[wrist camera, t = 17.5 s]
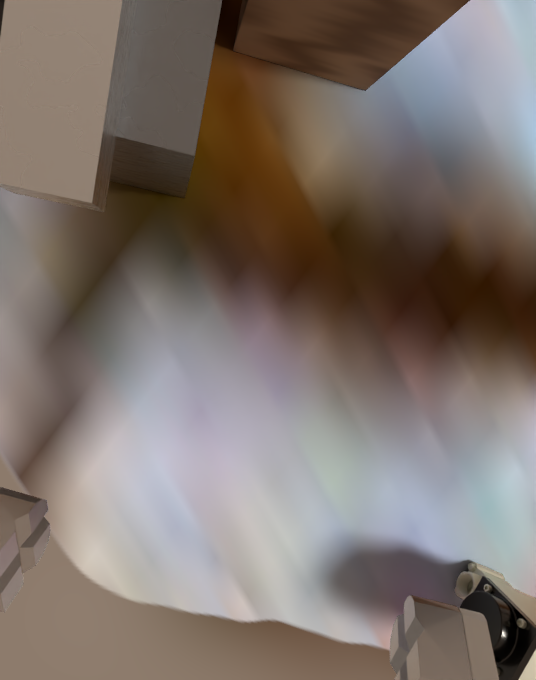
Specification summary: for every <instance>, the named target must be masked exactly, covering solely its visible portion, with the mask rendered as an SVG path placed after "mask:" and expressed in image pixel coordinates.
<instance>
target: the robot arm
mask: <svg viewBox="0 0 536 680" xmlns="http://www.w3.org/2000/svg"><path fill="white" fill-rule="evenodd" d="M47 511H48V505H47V500H45V499H41V498H37V497H34V496H30V495H27V494H23V493H20V492H16V491H12V490H9V489H5V488H3V487H0V612H5V611H6V610H7V608H8V606H9V605H10V603H11V602H12V600H13V599H14V598H15V596H16V595H17V593H18V592H19V590H20V589H21V587H22V586H23V573H24V572H26V571H27V570H29V569H31V568H32V567H34V566H36V564H37V563H38V561H39V560H40V558H41V557H42V555H43V553H44V551H45V548H46V546H47V544H48V541H49V536H50V523H49V522H48V521H47V520H46V519H45V517H44V516H45V514H46V513H47ZM390 664H391V665H392V667H393V669H394V671H395V672H396V674H397V675H396V677H395V679H394V680H499V677H498V672H497V667H496V663H495V658H494V653H493V648H492V644H491V639H490V634H489V630H488V625H487V620H486V618H485V617H484V615H483V614H481V613H479V612H475V611H470V610H466V609H462V608H458V607H456V606H454V605H450V604H446V603H441V602H437V601H433V600H429V599H425V598H421V597H417V596H413V595H410V596H408V597H407V599H406V600H405V602H404V614H402V615H399V616H397V618H396V621H395V623H394V625H393V629H392V634H391V639H390Z"/></svg>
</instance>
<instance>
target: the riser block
mask: <svg viewBox="0 0 536 680" xmlns="http://www.w3.org/2000/svg"><path fill="white" fill-rule="evenodd" d="M4 3H5V0H0V35H1V27H2V19H3V11H4ZM221 4H222V0H137V5H136V12H135V18H134V25H133V31H132V38H131V44H130V51H129V57H128V64H127V70H126V77H125V83H124V90H123V96H122V103H121V109H120V116H119V122H118V129H117V135H116V142H115V148H114V155H113V161H112V168H111V174H110V181H112V182H116V183H121V184H125V185H130V186H134V187H138V188H143V189H147V190H151V191H156V192H160V193H164V194H169V195H173V196H177V197H182V198H185V194H186V190H187V186H188V182H189V178H190V174H191V169H192V165H193V161H194V157H195V152H196V146H197V140H198V135H199V129H200V123H201V118H202V112H203V106H204V101H205V95H206V89H207V84H208V78H209V72H210V67H211V61H212V55H213V50H214V44H215V38H216V33H217V27H218V21H219V16H220V10H221Z"/></svg>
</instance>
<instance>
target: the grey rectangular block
mask: <svg viewBox="0 0 536 680" xmlns="http://www.w3.org/2000/svg"><path fill="white" fill-rule="evenodd" d="M136 5H137V0H5V3H4V11H3V19H2V27H1V35H0V187H1V188H3V189H6V190H8V191H11V192H13V193H16V194H21V195H25V196H30V197H35V198H40V199H44V200H49V201H54V202H58V203H63V204H68V205H72V206H77V207H82V208H87V209H91V210H96V211H101V212H105V207H106V200H107V194H108V187H109V181H110V174H111V168H112V161H113V155H114V148H115V142H116V135H117V129H118V122H119V116H120V109H121V103H122V96H123V90H124V83H125V77H126V70H127V64H128V57H129V51H130V44H131V38H132V31H133V25H134V18H135V12H136Z"/></svg>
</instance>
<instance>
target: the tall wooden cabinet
mask: <svg viewBox="0 0 536 680" xmlns="http://www.w3.org/2000/svg"><path fill="white" fill-rule="evenodd" d="M468 1H470V0H242V3H241V9H240V15H239V20H238V26H237V31H236V37H235V42H234V48H233V51H235V52H239V53H242V54H245V55H249V56H252V57H255V58H259V59H262V60H265V61H269V62H272V63H275V64H279V65H282V66H285V67H289V68H292V69H295V70H299V71H302V72H305V73H309V74H312V75H315V76H319V77H322V78H325V79H329V80H332V81H335V82H339V83H342V84H345V85H349V86H352V87H355V88H359V89H362V90H365V91H366V90H367V89H368V88H369V87H370V86H371V85H372V84H374V83H375V82H376V81H377V80H378V79H379V78H381V77H382V76H383V75H384V74H385V73H386V72H388V71H389V70H390V69H391V68H392V67H393V66H394V65H396V64H397V63H398V62H399V61H400V60H401V59H403V58H404V57H405V56H406V55H407V54H408V53H409V52H411V51H412V50H413V49H414V48H415V47H416V46H418V45H419V44H420V43H421V42H422V41H423V40H425V39H426V38H427V37H428V36H429V35H430V34H431V33H433V32H434V31H435V30H436V29H437V28H438V27H440V26H441V25H442V24H443V23H444V22H445V21H447V20H448V19H449V18H450V17H451V16H452V15H453V14H455V13H456V12H457V11H458V10H459V9H460V8H462V7H463V6H464V5H465V4H466V3H467V2H468Z"/></svg>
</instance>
